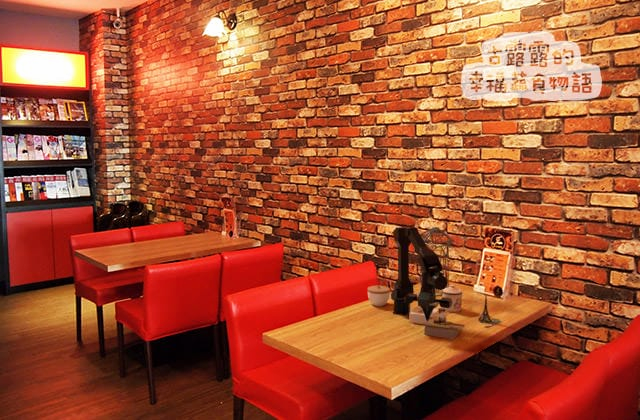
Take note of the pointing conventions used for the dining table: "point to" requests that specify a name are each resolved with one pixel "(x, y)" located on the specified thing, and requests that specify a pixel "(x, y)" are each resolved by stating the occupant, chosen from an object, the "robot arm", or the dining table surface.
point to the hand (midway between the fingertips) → (427, 320)
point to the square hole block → (420, 315)
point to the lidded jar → (378, 295)
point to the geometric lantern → (438, 247)
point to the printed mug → (453, 298)
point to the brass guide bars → (434, 320)
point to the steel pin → (442, 315)
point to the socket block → (441, 331)
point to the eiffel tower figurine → (487, 316)
